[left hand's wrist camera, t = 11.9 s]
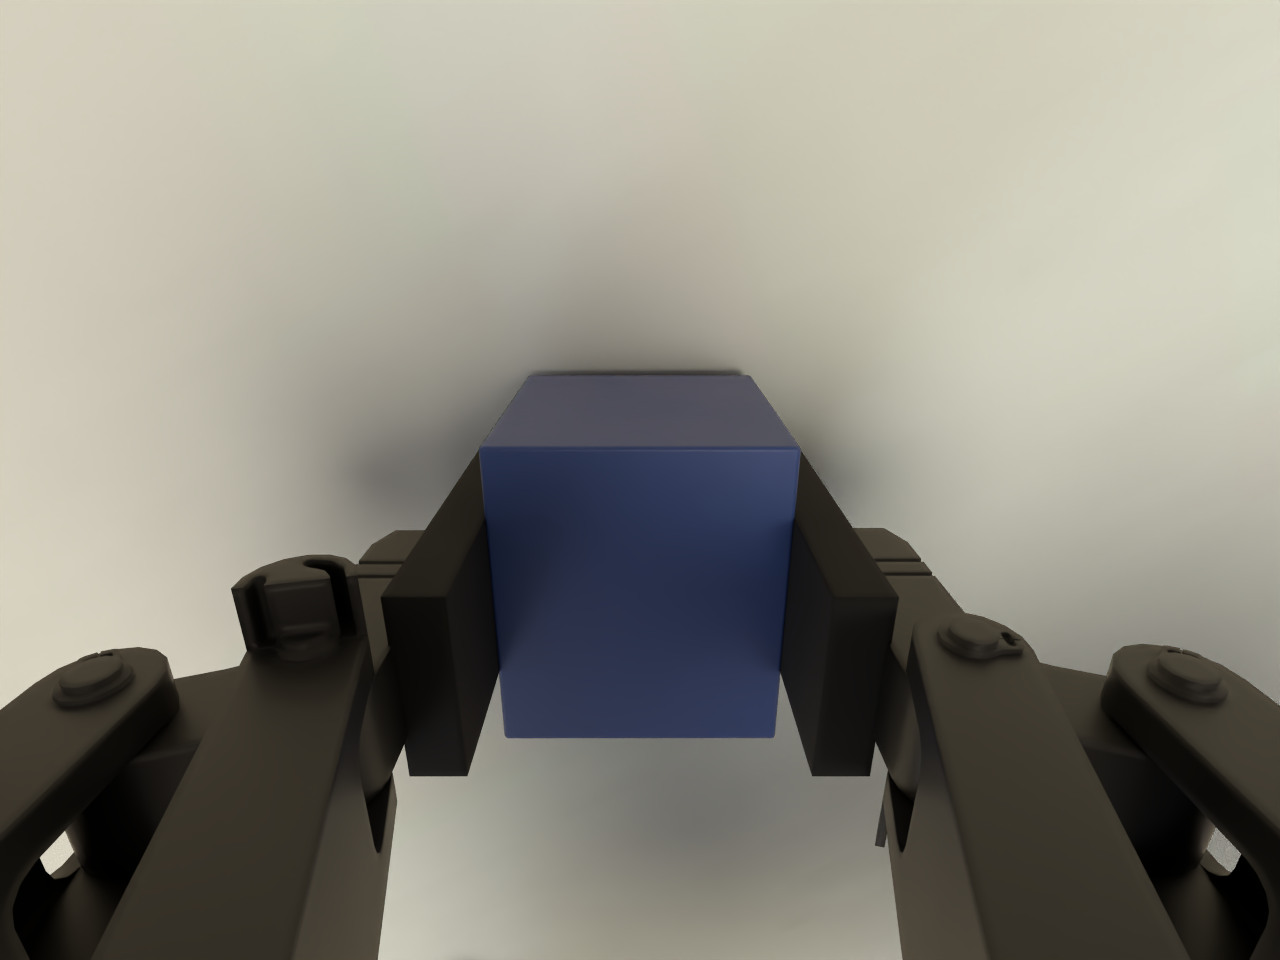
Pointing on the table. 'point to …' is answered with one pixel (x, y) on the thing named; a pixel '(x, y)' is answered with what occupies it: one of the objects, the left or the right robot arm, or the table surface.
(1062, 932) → the left robot arm
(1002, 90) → the table surface
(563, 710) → the block
